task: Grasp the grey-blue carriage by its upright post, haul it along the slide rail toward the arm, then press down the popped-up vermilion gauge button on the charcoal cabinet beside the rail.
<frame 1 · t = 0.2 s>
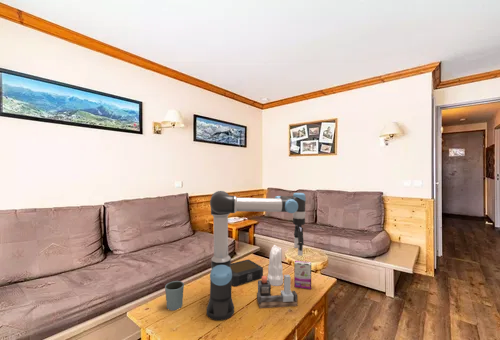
hand: (298, 251, 146), 27 cm above the table, fingers open, 13 cm apart
cash box: (242, 277, 169), on the table
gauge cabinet: (264, 295, 145), on the table
slide rail: (277, 303, 137), on the table
decorative vase: (275, 282, 162), on the table
carriage: (287, 287, 137), point 9 cm above the table, slide at 6.0 cm
gauge button: (264, 279, 145), point 10 cm above the table, slide at 0.0 cm
candy bar box: (302, 287, 156), on the table
grey cup: (174, 306, 132), on the table
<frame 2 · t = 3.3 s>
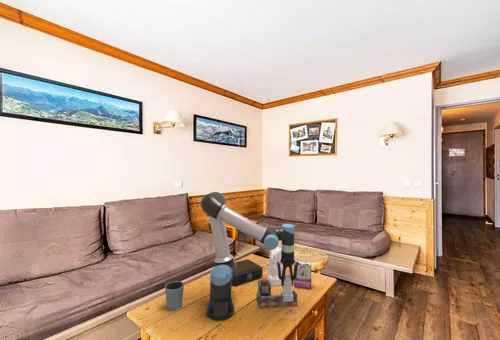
hand: (287, 290, 137), 7 cm above the table, fingers closed on carriage, 3 cm apart
carriage: (287, 287, 137), point 9 cm above the table, slide at 6.0 cm, touching gripper
everything else where it was.
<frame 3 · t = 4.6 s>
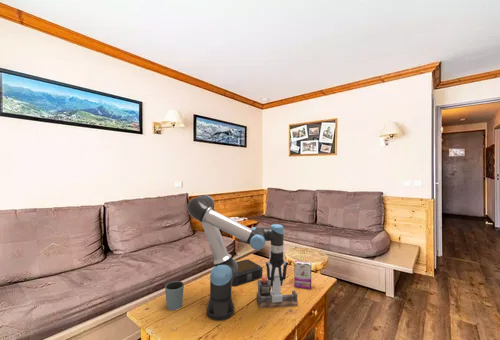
hand: (276, 291, 136), 7 cm above the table, fingers closed on carriage, 3 cm apart
carriage: (276, 288, 136), point 9 cm above the table, slide at -0.6 cm, touching gripper
everything else where it was.
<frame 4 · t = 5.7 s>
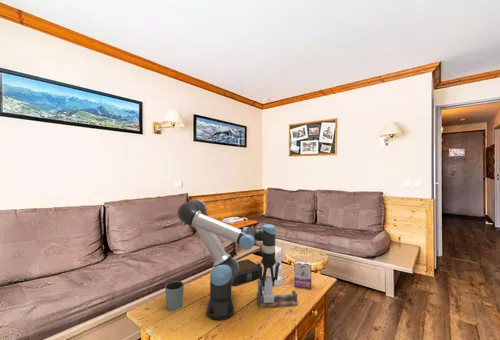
hand: (268, 291, 136), 7 cm above the table, fingers closed on carriage, 3 cm apart
carriage: (268, 288, 136), point 9 cm above the table, slide at -5.5 cm, touching gripper
everything else where it was.
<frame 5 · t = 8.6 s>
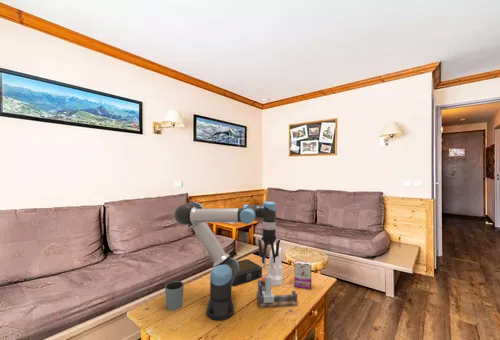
hand: (268, 268, 136), 21 cm above the table, fingers open, 4 cm apart
carriage: (268, 288, 136), point 9 cm above the table, slide at -5.5 cm
everything else where it was.
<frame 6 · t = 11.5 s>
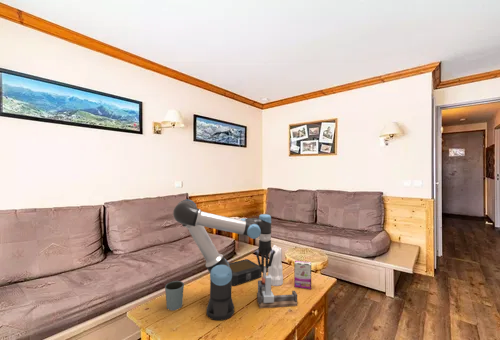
hand: (264, 277, 145), 11 cm above the table, fingers closed
gauge button: (264, 280, 145), point 9 cm above the table, slide at -0.6 cm, touching gripper
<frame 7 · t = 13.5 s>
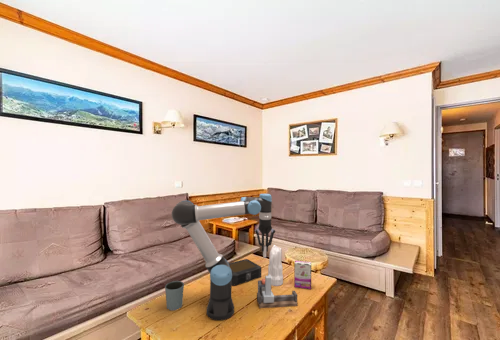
hand: (264, 256, 145), 24 cm above the table, fingers closed
gauge button: (264, 282, 145), point 8 cm above the table, slide at -1.9 cm
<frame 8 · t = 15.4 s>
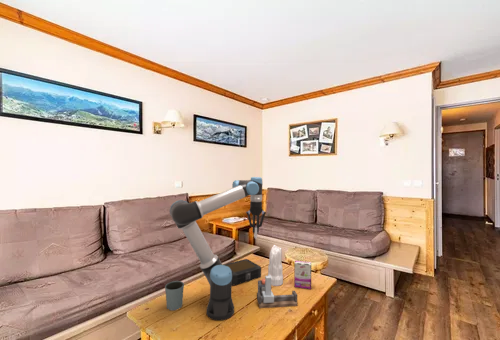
hand: (255, 237, 150), 34 cm above the table, fingers closed
at the end: carriage slide at -5.5 cm; gauge button slide at -1.9 cm; the gripper is holding nothing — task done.
